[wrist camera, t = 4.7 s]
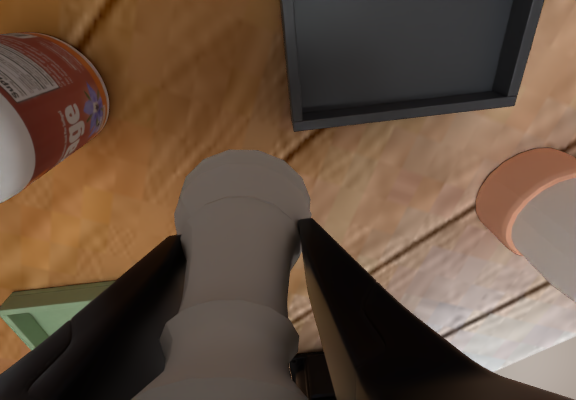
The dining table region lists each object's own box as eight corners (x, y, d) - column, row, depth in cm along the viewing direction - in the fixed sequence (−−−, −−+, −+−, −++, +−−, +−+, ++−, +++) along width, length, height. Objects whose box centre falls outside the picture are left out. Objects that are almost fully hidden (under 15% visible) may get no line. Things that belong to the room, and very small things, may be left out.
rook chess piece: (160, 216, 11) (-6, 539, 4) (223, 114, 9) (106, 399, 3) (264, 265, 13) (259, 560, 6) (334, 187, 11) (442, 483, 4)
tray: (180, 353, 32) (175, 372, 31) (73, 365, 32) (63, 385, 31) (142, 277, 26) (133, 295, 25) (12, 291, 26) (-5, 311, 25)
